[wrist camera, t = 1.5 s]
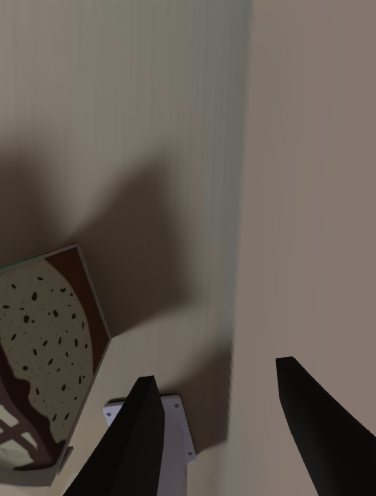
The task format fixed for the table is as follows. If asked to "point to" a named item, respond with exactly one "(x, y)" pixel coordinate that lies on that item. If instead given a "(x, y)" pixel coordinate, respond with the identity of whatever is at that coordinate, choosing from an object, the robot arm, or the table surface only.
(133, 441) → the robot arm
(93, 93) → the table surface
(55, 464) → the food container
